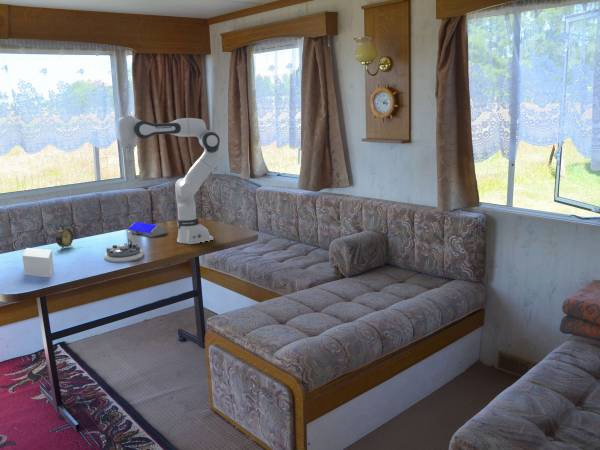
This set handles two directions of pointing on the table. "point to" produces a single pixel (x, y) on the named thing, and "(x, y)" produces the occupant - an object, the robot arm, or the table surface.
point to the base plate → (123, 259)
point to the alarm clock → (64, 237)
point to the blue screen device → (146, 229)
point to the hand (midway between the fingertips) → (130, 167)
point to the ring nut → (129, 251)
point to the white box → (38, 262)
